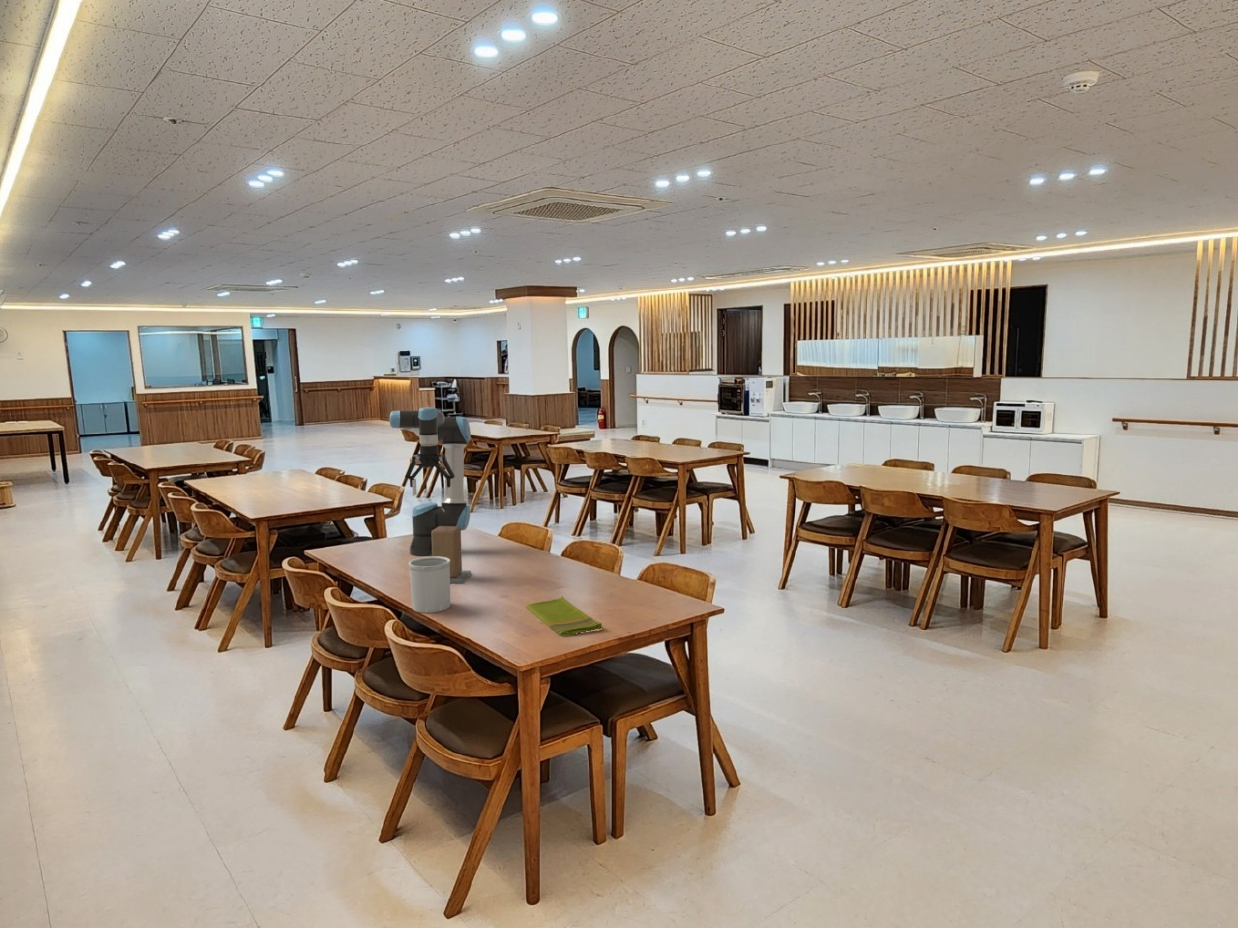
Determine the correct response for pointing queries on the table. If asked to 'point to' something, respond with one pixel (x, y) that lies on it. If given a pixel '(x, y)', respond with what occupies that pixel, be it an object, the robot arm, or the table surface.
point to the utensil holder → (430, 584)
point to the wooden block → (448, 546)
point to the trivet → (460, 577)
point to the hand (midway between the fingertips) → (430, 495)
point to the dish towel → (563, 617)
